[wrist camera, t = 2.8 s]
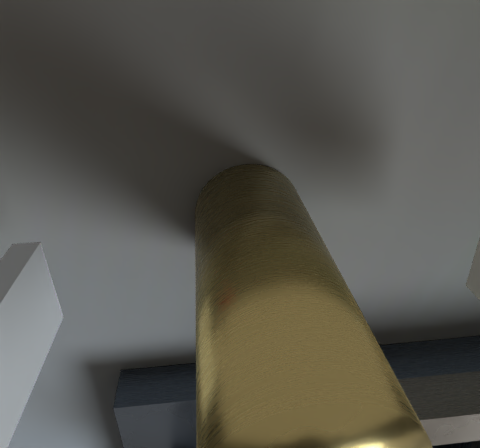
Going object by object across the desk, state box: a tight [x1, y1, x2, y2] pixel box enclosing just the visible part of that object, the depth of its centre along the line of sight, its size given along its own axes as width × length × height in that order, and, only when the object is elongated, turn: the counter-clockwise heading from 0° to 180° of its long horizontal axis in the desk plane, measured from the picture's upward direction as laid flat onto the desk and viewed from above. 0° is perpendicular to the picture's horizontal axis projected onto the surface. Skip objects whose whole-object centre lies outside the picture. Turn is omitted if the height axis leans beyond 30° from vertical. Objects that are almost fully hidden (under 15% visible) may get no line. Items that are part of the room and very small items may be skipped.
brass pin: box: [195, 164, 433, 448], centre depth 11 cm, size 4×4×10 cm
